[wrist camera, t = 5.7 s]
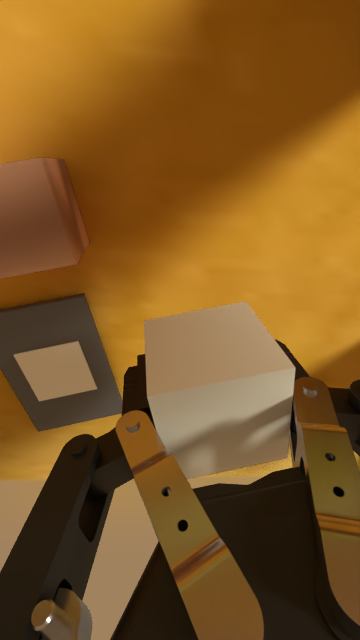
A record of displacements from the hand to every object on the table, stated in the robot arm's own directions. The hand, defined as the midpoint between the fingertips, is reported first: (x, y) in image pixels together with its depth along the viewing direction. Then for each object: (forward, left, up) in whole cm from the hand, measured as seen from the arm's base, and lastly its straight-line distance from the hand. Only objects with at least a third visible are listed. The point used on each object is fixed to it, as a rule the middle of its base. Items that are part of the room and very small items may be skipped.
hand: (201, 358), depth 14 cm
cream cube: (0, 0, 0) cm, 0 cm away
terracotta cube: (-7, -8, -9) cm, 14 cm away
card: (+5, -11, -9) cm, 15 cm away
